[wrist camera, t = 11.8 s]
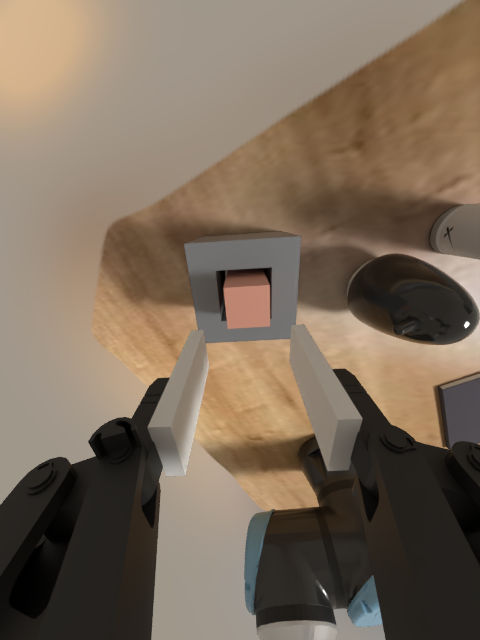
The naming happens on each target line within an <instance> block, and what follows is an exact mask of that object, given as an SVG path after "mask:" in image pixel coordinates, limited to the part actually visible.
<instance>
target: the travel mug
mask: <svg viewBox="0 0 480 640" xmlns="http://www.w3.org/2000/svg"><path fill="white" fill-rule="evenodd" d="M430 243H431V246H432V248H433V249H434V250H435V251H437V252H438V253H442V254H448V255H455V256H461V257H467V258H474V259H480V203H479V204H466V205H459V206H456V207H453V208H451V209H449V210H448V211H446V212H445V213H444V214H443V215H442V216H441V217H439V219H438V220H437V221H436V223H435V224H434V226H433V228H432V230H431V234H430Z"/></svg>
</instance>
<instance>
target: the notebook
mask: <svg viewBox="0 0 480 640" xmlns="http://www.w3.org/2000/svg"><path fill="white" fill-rule="evenodd" d="M438 389H439V396H440V403H441V410H442V417H443V424H444V431H445V439H446V446H447V448H448V449H449V450H450V449H451V448H452V446H453V445H454V443H455V442H460V441H466V442H473V443H476V444H478V443H480V374H476V375H473V376H470V377H467V378H464V379H461V380H458V381H455V382H452V383H449V384H446V385H443V386H440V387H439V386H438Z"/></svg>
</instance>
